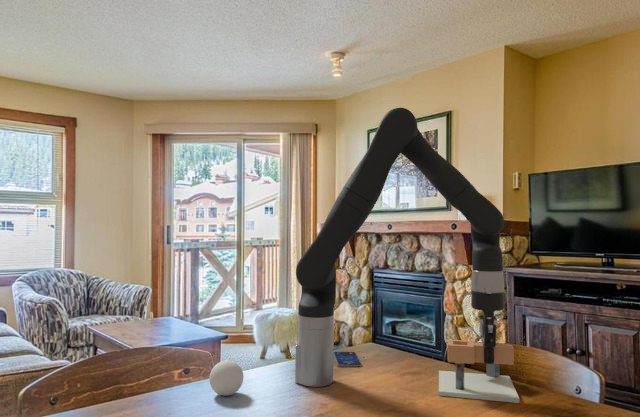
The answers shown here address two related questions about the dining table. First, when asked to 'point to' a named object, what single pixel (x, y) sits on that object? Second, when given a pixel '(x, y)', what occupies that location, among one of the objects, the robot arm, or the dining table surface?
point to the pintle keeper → (491, 371)
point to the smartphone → (346, 359)
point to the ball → (226, 377)
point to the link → (478, 352)
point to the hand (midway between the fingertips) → (488, 360)
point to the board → (478, 387)
